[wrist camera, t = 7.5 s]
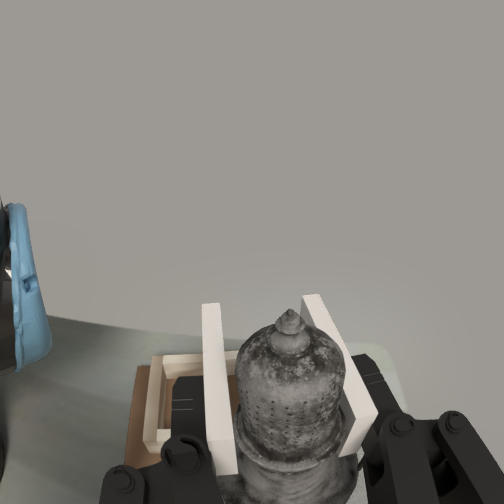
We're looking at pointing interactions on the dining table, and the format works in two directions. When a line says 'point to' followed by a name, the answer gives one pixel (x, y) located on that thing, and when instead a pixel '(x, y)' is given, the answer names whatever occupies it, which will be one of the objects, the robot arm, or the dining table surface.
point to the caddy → (164, 403)
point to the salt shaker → (289, 419)
